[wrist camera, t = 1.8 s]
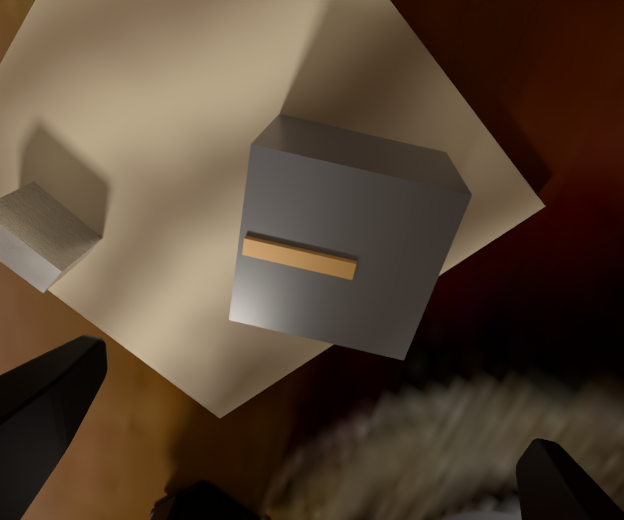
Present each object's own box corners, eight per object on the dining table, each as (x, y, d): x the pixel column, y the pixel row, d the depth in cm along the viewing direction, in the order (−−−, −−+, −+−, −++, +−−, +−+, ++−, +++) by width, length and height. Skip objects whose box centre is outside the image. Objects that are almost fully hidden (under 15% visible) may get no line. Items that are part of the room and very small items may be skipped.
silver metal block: (102, 238, 19) (61, 271, 17) (85, 258, 20) (43, 293, 17) (33, 181, 18) (-21, 207, 16) (17, 204, 19) (-38, 233, 16)
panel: (536, 197, 17) (545, 206, 16) (224, 404, 25) (219, 418, 25) (199, -250, 12) (185, -271, 11) (-56, 190, 20) (-75, 198, 19)
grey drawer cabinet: (446, 152, 16) (473, 197, 12) (396, 290, 19) (404, 364, 15) (279, 114, 16) (249, 145, 12) (257, 259, 19) (227, 323, 15)
